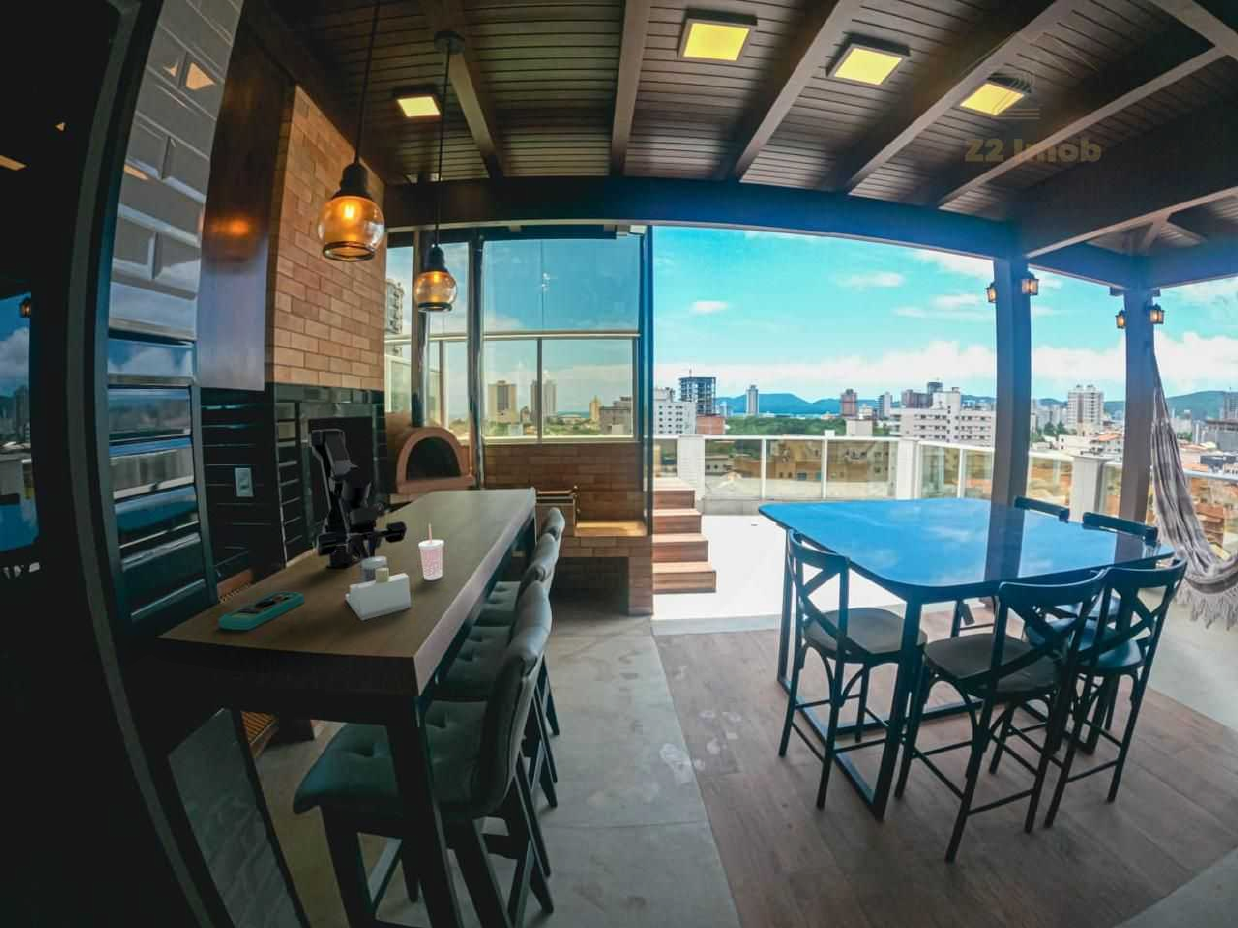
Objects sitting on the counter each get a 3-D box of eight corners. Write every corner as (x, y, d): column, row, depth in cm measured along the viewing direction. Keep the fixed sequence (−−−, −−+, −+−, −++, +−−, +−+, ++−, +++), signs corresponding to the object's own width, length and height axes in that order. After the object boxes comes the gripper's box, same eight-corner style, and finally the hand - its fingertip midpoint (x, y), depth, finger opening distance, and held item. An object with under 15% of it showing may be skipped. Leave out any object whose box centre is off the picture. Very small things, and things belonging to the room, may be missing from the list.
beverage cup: (434, 570, 132) (431, 519, 130) (450, 574, 129) (447, 522, 127) (415, 578, 127) (411, 525, 125) (431, 582, 124) (427, 528, 122)
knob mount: (346, 599, 114) (342, 560, 112) (392, 588, 120) (389, 551, 119) (361, 620, 103) (357, 577, 101) (411, 607, 109) (408, 566, 108)
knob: (362, 595, 112) (358, 559, 111) (385, 590, 115) (382, 554, 114) (367, 602, 108) (364, 564, 107) (391, 596, 111) (388, 559, 110)
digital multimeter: (307, 603, 113) (306, 590, 113) (248, 633, 99) (246, 619, 98) (280, 601, 114) (279, 589, 114) (218, 630, 100) (216, 616, 100)
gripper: (313, 499, 109) (327, 558, 102) (401, 488, 121) (419, 541, 114) (310, 527, 116) (324, 585, 109) (394, 514, 128) (411, 565, 121)
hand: (371, 568), depth 113 cm, fingers closed, pressing on knob
